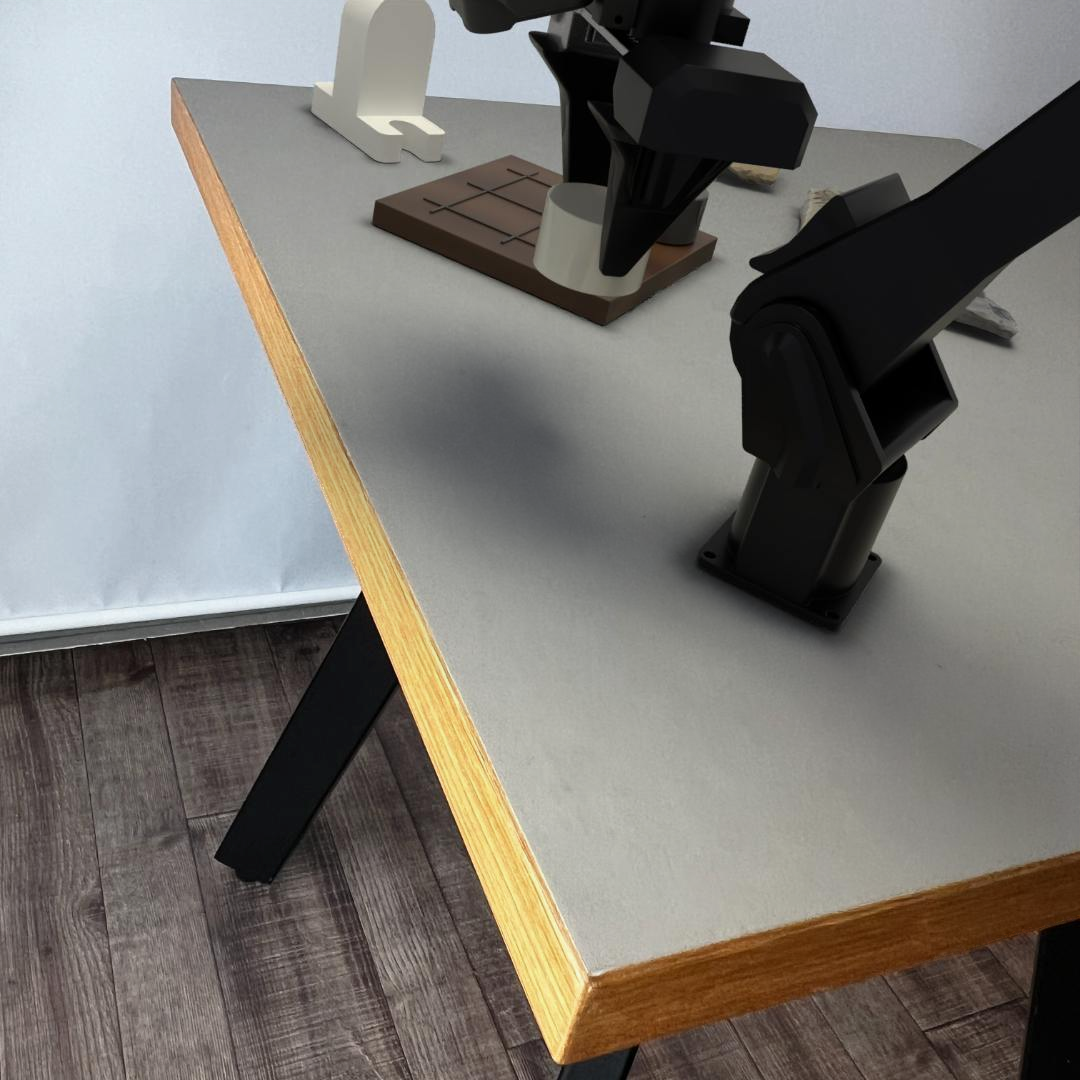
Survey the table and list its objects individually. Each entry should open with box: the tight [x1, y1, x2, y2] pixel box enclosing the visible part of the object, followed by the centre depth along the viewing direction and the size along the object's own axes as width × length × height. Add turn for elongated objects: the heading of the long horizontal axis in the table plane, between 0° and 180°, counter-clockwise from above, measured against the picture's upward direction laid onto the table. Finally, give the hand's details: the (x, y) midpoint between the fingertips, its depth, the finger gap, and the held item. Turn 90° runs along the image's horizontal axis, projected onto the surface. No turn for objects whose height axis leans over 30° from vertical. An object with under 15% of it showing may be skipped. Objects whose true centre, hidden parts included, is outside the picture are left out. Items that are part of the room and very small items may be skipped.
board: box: [371, 154, 719, 326], centre depth 77 cm, size 16×16×2 cm
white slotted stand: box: [310, 0, 446, 164], centre depth 84 cm, size 5×10×10 cm, turn 37°
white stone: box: [533, 183, 652, 296], centre depth 52 cm, size 5×5×3 cm
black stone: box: [657, 188, 710, 245], centre depth 78 cm, size 5×5×3 cm
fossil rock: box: [797, 186, 1019, 339], centre depth 87 cm, size 18×15×2 cm
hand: (592, 248), depth 53 cm, fingers closed on white stone, 5 cm apart
